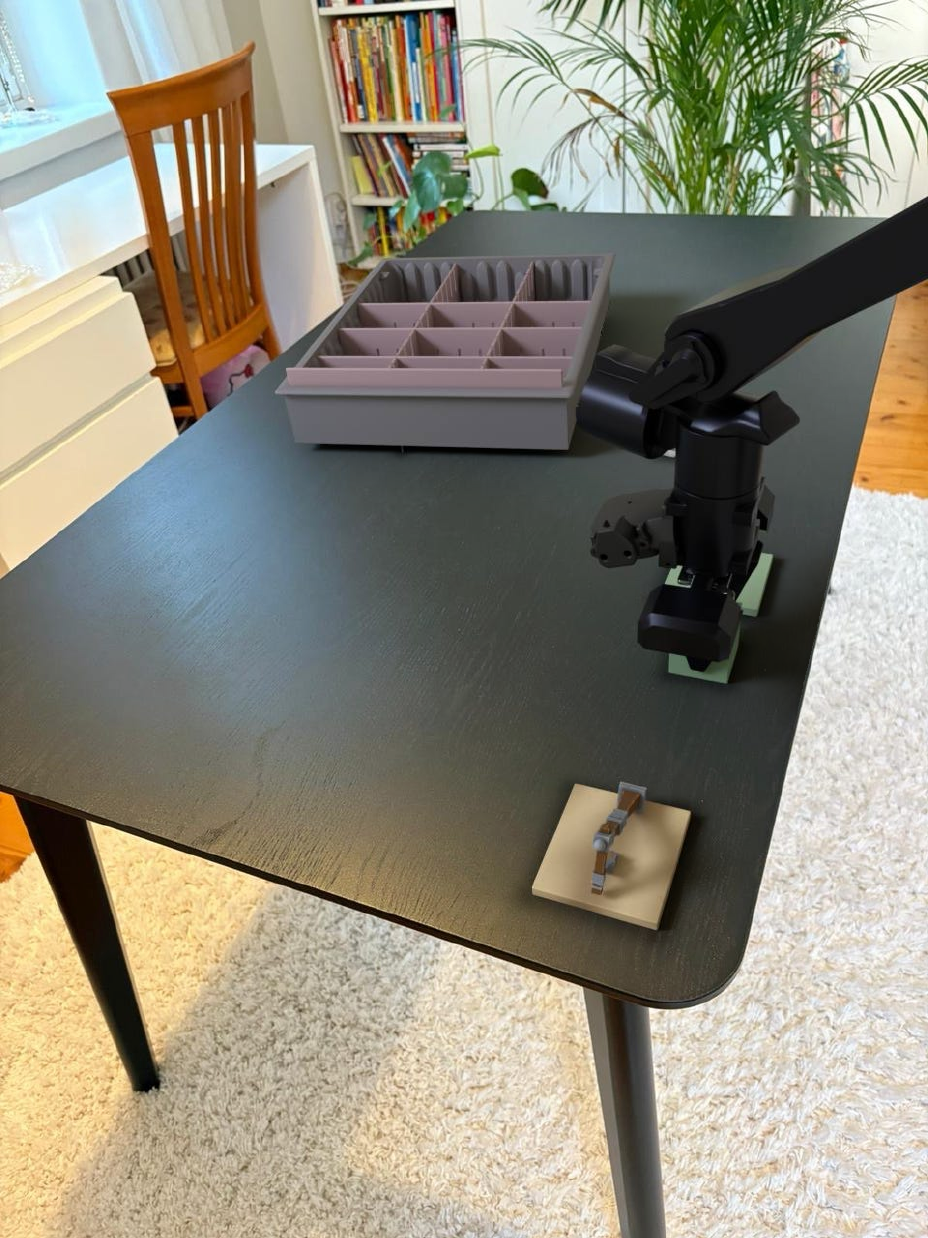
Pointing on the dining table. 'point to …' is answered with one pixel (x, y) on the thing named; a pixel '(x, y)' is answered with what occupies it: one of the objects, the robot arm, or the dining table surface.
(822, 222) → the dining table surface
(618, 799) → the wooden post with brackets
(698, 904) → the dining table surface
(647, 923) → the birch pad
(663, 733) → the dining table surface
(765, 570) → the sage pad
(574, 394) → the organizer tray
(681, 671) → the sage block
